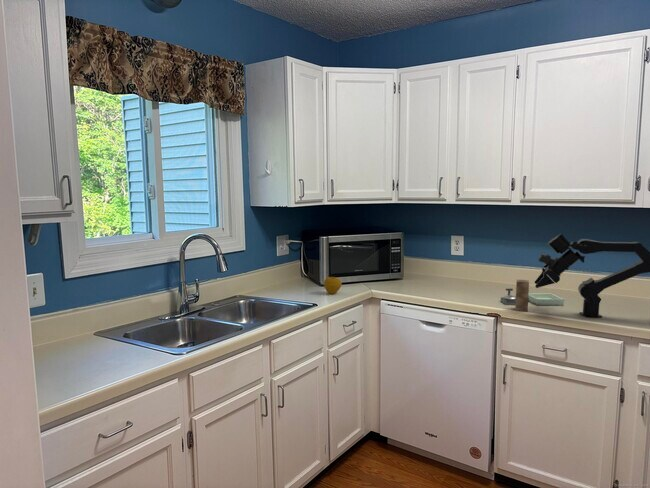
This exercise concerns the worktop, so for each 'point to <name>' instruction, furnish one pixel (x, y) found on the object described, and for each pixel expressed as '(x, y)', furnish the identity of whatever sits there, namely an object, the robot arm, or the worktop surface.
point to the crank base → (508, 301)
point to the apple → (332, 285)
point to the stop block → (522, 295)
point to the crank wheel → (509, 297)
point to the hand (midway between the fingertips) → (535, 285)
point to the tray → (545, 299)
